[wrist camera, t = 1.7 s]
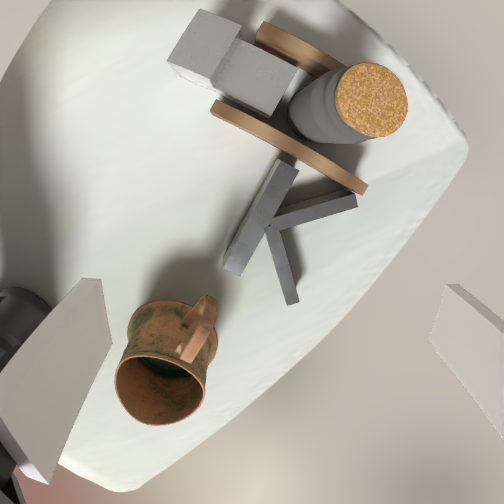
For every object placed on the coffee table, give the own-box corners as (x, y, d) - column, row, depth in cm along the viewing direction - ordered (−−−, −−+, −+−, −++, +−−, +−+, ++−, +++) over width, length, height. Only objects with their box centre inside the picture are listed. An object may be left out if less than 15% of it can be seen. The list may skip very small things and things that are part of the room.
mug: (260, 289, 36) (272, 353, 25) (192, 385, 41) (184, 453, 30) (170, 240, 34) (141, 289, 23) (116, 349, 38) (88, 412, 27)
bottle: (350, 108, 30) (428, 92, 16) (323, 153, 32) (389, 165, 17) (303, 78, 29) (355, 35, 15) (275, 123, 30) (310, 109, 16)
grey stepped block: (180, 76, 28) (166, 61, 22) (206, 33, 27) (199, 8, 20) (267, 118, 30) (276, 112, 24) (292, 74, 29) (307, 58, 22)
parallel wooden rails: (213, 115, 30) (209, 111, 25) (259, 35, 27) (263, 21, 23) (346, 188, 33) (362, 195, 29) (388, 113, 30) (407, 110, 26)
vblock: (219, 263, 35) (218, 274, 32) (280, 151, 31) (285, 152, 28) (290, 296, 37) (294, 309, 34) (352, 193, 33) (362, 198, 30)
